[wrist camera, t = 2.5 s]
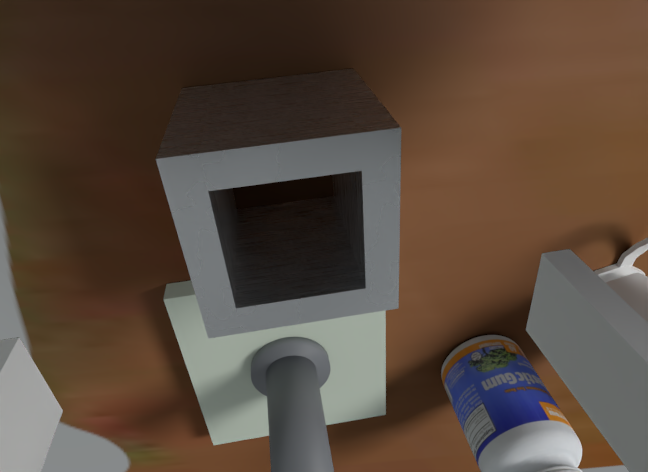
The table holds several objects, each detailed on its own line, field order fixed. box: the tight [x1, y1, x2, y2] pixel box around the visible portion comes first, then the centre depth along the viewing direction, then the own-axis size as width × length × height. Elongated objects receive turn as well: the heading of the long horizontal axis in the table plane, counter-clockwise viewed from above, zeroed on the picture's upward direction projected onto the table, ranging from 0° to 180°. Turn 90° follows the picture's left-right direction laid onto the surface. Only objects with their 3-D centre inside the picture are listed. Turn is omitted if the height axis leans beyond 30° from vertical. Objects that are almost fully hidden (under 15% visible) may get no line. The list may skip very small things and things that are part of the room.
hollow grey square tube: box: [156, 69, 401, 339], centre depth 18 cm, size 7×7×7 cm
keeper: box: [163, 280, 386, 472], centre depth 24 cm, size 12×11×9 cm
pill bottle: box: [441, 335, 582, 472], centre depth 27 cm, size 5×5×10 cm
